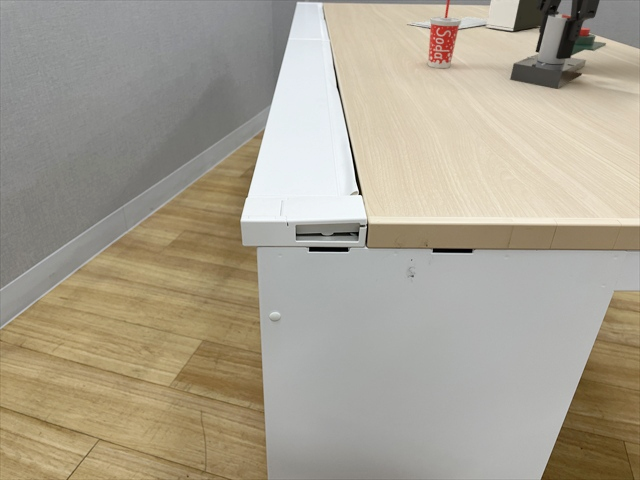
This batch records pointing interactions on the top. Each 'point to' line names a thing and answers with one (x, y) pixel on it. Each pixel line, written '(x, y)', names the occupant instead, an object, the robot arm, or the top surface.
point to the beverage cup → (442, 40)
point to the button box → (586, 44)
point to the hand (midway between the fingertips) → (552, 54)
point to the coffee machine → (503, 16)
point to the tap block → (546, 71)
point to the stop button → (584, 31)
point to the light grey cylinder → (552, 39)
